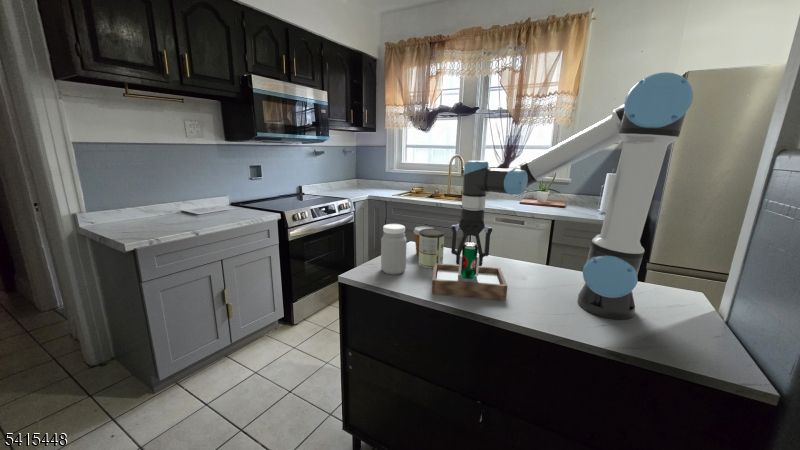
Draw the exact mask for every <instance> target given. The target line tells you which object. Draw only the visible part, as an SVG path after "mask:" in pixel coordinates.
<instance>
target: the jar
mask: <svg viewBox="0 0 800 450" xmlns="http://www.w3.org/2000/svg"><path fill="white" fill-rule="evenodd" d="M382 231H383V233H382V236H381V238H380V241H381V242H380V269H381V270H382V271H383V272H384V273H385V274H387V275H400V274H402V273H403V272H404V271H406V268H407V241H408V239H407V237H406V233H405V232H406V226H405V225H403V224H400V223H388V224H384V225H383V227H382Z"/></svg>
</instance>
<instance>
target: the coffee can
mask: <svg viewBox="0 0 800 450" xmlns="http://www.w3.org/2000/svg"><path fill="white" fill-rule="evenodd" d="M419 233H420V236H419V256H418V265H419V266H420V267H422V268H425V269H434V263H439V264H444V247H445V233H446V232H445V231H444V230H443V229H438V228H433V229H422V230H420V231H419Z"/></svg>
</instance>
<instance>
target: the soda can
mask: <svg viewBox="0 0 800 450" xmlns="http://www.w3.org/2000/svg"><path fill="white" fill-rule="evenodd" d="M461 254H462V267H461V276H462V277H463V278H465V279H473V278H474V277H475V275H476V263H477V255H478V247H477V243H476V242H465V243H464V246H463V249H462V251H461Z"/></svg>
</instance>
